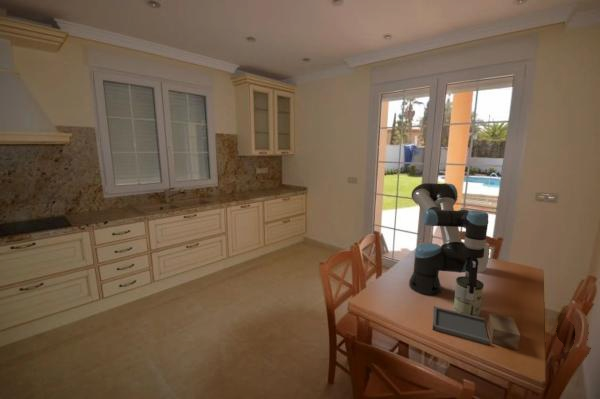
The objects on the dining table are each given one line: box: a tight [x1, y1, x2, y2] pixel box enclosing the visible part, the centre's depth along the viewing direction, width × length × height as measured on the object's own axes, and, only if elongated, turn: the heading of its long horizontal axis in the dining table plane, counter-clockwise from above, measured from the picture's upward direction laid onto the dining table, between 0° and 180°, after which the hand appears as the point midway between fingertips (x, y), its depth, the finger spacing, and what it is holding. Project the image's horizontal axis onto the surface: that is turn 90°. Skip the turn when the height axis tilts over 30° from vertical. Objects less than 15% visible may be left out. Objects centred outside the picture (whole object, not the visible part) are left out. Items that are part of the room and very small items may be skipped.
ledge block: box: [486, 312, 521, 351], centre depth 104 cm, size 8×11×6 cm
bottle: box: [477, 239, 490, 273], centre depth 158 cm, size 11×11×25 cm
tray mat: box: [432, 306, 491, 346], centre depth 111 cm, size 19×15×2 cm
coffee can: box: [453, 275, 485, 317], centre depth 120 cm, size 10×10×14 cm
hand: (468, 292), depth 119 cm, fingers open, 13 cm apart
